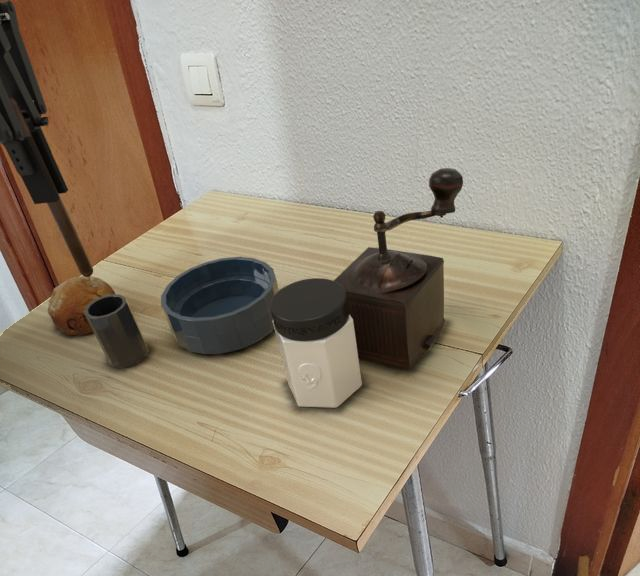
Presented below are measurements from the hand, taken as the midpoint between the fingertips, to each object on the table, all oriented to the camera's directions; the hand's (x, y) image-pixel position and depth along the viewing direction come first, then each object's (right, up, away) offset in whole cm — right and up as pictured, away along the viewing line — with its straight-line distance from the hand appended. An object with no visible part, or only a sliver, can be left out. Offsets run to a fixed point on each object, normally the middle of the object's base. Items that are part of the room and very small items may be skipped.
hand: (51, 196), depth 65 cm
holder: (+4, -16, +15) cm, 22 cm away
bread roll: (-5, -9, +24) cm, 26 cm away
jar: (+30, -21, +5) cm, 37 cm away
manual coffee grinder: (+40, -13, +10) cm, 43 cm away
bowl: (+17, -11, +17) cm, 27 cm away
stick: (+1, -7, +7) cm, 10 cm away
